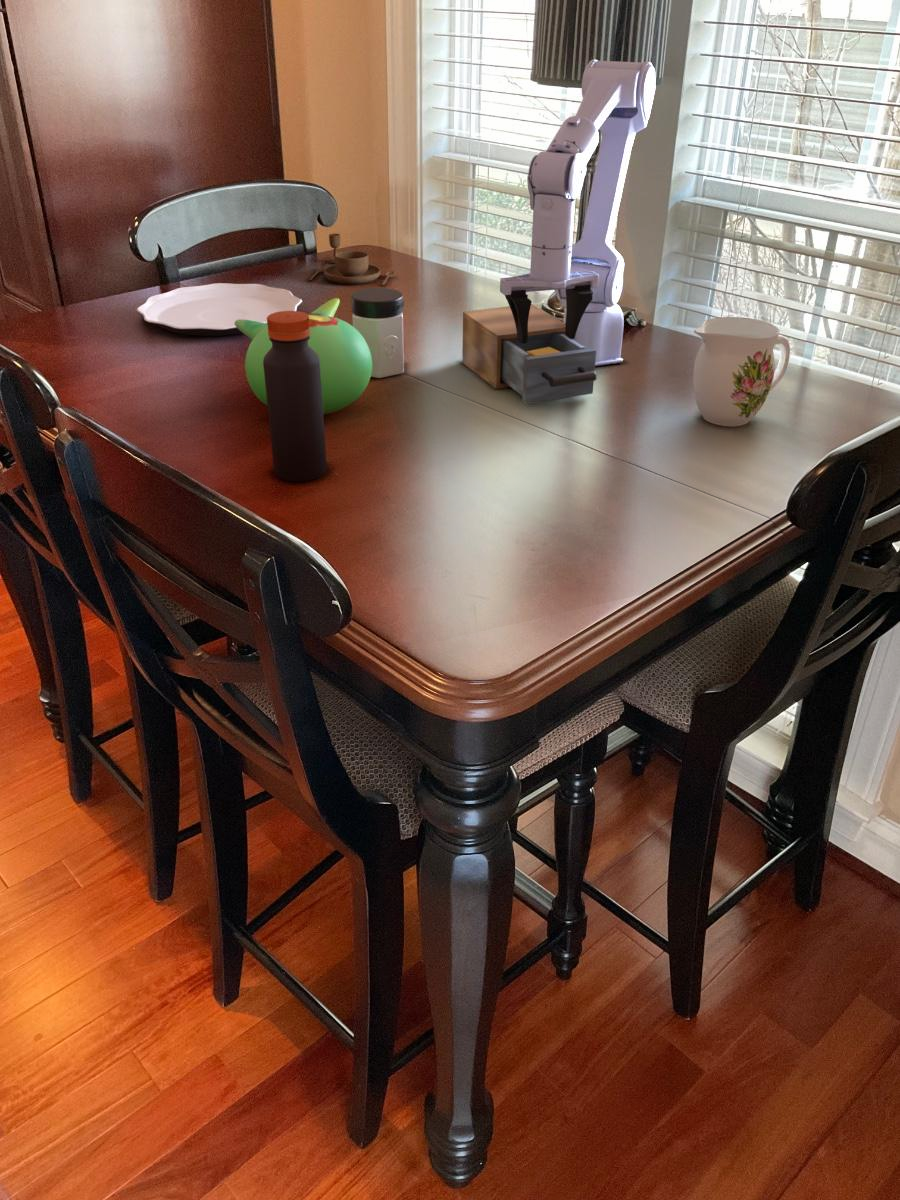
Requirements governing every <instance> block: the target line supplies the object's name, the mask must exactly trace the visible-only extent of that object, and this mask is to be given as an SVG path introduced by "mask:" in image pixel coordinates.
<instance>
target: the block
mask: <svg viewBox="0 0 900 1200" xmlns="http://www.w3.org/2000/svg"><path fill="white" fill-rule="evenodd" d="M559 352H560V351H558V350H556V349H553V348H551V347H546V348H541V349H536V350H531V351H527V352H526V353H528V354H529V357H530V356H537V355H544V354H552V353H559Z"/></svg>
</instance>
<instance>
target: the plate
mask: <svg viewBox="0 0 900 1200" xmlns="http://www.w3.org/2000/svg"><path fill="white" fill-rule="evenodd" d="M302 303H303V299H301V298H299V297H298V296H295V295H294V294H293V293H292V291H290V290H289V289H286V288H279V287H274V286H267V285H264V284H261V283H225V282H224V283H223V282H217V283H210V284H204V285H196V286H195V285H194V286H184V287H183V286H182V287H179V288H178V287H177V288H175V289H173V290H169V291H168V292H163V293H159V294H155V295H152V296H150V297H148V298H146V301H145V302H144V303H143V304H142V305H140V306H139V307H137V308H136V312H137V313H138V314H139V315H141V316H142V317H143V320H144V322H146V323H148V324H150V325H154V326H156V327H160V328H162V329H163V330H167V331H169V332H172V333H175V334H181V335H187V336H198V337H199V336H200V337H219V336H220V337H221V336H223V337H225V336H235V335H242V334H244V333H243V332H241V331H240V330H239V329H238V328H237V327H236V326H235V324H234V323H235V321H236V320H239V319H245V320H251V321H256V322H261V323H265V324H267V317H268V316H269V315H270V314H273V313H276V312H281V311H298V307H299V306H301V304H302Z"/></svg>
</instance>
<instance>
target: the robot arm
mask: <svg viewBox="0 0 900 1200" xmlns="http://www.w3.org/2000/svg"><path fill="white" fill-rule="evenodd" d="M655 92H656V70H655V67H654V66H653V64H652V62H651V61H643V62H639V61H638V62H635V61H614V60H613V61H611V60H598V59H591V60H590V61H589V62H588V63H587V65H586V66H585V68H584V71H583V73H582V79H581V96H582V100H581V102H580V105H579V106H578V108H577V112H576V114H575V115H572V116H568V118H566V119H565V120H564V121H563V122H562V124H561V125H560V127H559V128H558V130H557V132H556V133H555V135H554V137H553V138H552V141H550V143H549V145H548V147H547V148H546V150H545V151H540V152H539V153H538V154H535V155H534V156H533V157H532V159H531V160H530V164H529V167H528V172H527V178H526V179H527V180H526V181H527V182H526V183H527V189H528V194H529V207H530V210H532V225H531V227H532V229H531V248H530V249H531V251H530V272H529V273H525V274H520V275H514V276H510V277H500V278H499V280H500V281H499V292H500V293H501V294H502V295H504V298H505V299H506V301H507V303H508V306H510V309H511V311H512V314H513V317H514V321H515V325H516V330H517V337H518V340H519V341H520V342H521V343H522V344H524V343H527V338H528V318H529V312H530V307H531V304H533V303H532V300H531V299H530V298H529V295H528V294H527V293H532V292H533V293H535V292H542V291H543V292H546V291H554V293H555V296H556V298H557V299H558V300H559V301H560V306H561V307H564V310H563V320H562V322H564V323H565V335H566V336H567V337H568V338H570V339H572V340H574V341H576V342H577V343H579V344H581V345H582V346H584V347H585V349H589V348H593V349H595V350H596V360H595V367H596V366H604V365H610V364H618V363H623V362H624V361H623V360H624V359H623V358H622V357H621V355H622V347H623V346H622V345H623V337H624V336H623V335H624V326H625V325H624V323H625V320H624V313H623V310H622V309H621V307H620V306H619V304H617V303H618V302H619V300H620V297H621V294H622V291H623V286H624V285H623V283H624V270H625V262H624V261H625V260H624V258H623V256H622V255H621V253H619V252H618V251H617V249H616V248H615V247H614V246H613V245H612V241H613V237H614V232H615V227H616V223H617V217H618V213H619V208H620V204H621V199H622V195H623V189H624V185H625V181H626V176H627V171H628V167H629V162H630V157H631V152H632V147H633V145H634V140H635V137H636V134H637V133H638V132H640V131H642V130H644V129H645V128H647V125H648V121H649V119H650V115H651V110H652V106H653V101H654V97H655ZM599 131H600V133H601V139H600V135H599ZM599 140H600V145H599V150H598V154H597V159H596V164H595V169H594V174H593V179H592V184H591V189H590V194H589V199H588V203H587V209H586V213H585V219H584V223H583V228H582V233H581V237H580V239H579V240H578V241H576V242H575V243H573V238H574V237H573V235H574V222H575V207H576V199H578V197H579V196H580V194H581V192H582V188H583V184H584V180H585V176H586V174H587V164H588V162H589V161H590V159H591V157H592V155H593V153H594V152H595V150H596V148H597V146H598V144H599Z"/></svg>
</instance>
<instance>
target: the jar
mask: <svg viewBox="0 0 900 1200" xmlns="http://www.w3.org/2000/svg"><path fill="white" fill-rule="evenodd" d="M350 305H351V313H352V315H351V316H352V317H351V318H352V326H353V327H354V328H355V329H356V330H357V331H358V332H359V333H360V334H361V335H362V336H363V338H364V339H365V341H366V343H367V345H368V347H369V350H370V353H371V357H372V373H371V377H370V378H374V379H383V378H386V377H387V378H388V377H392V376H399V375H402V374H404V373H405V356H404V355H405V353H404V350H405V349H404V314H403V313H404V305H405V303H404V294H403V293H402V292H401V291H399V290H397V289H393V288H387V287H369V288H363V289H359V290H356V291H353V292H352V294H351V295H350Z"/></svg>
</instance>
